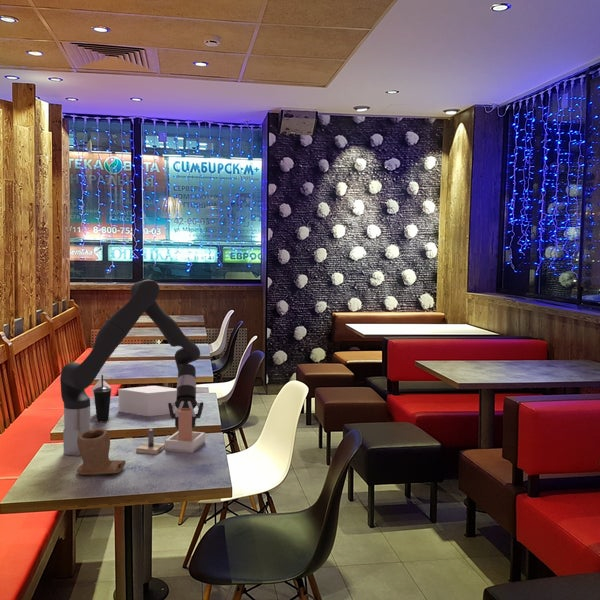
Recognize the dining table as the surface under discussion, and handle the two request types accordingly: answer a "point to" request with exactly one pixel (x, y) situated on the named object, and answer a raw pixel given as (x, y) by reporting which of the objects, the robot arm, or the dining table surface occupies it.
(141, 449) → the stake board
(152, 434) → the stake
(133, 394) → the block
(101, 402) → the drinking cup
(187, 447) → the tray
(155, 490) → the dining table surface
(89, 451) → the brown hollow piece
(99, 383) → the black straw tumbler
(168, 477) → the dining table surface
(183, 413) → the sleeve
